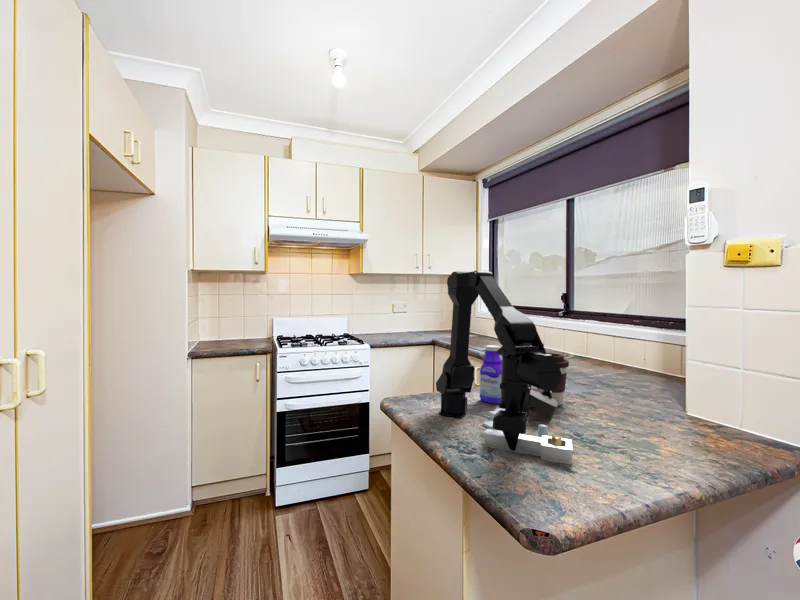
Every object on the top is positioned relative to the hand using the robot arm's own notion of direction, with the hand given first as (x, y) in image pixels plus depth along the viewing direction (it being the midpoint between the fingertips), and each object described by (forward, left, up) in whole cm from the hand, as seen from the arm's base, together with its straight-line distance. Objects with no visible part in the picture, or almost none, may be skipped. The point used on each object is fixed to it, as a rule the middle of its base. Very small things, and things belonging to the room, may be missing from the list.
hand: (512, 449), depth 83 cm
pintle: (+9, +3, -1) cm, 9 cm away
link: (+3, +3, -1) cm, 4 cm away
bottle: (-10, +36, -1) cm, 37 cm away
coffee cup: (+7, +43, -1) cm, 43 cm away
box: (+4, +27, -1) cm, 27 cm away
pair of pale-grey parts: (-1, +13, -1) cm, 13 cm away
